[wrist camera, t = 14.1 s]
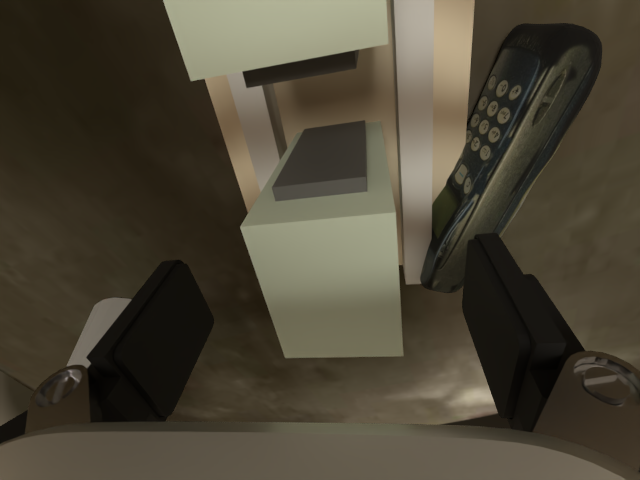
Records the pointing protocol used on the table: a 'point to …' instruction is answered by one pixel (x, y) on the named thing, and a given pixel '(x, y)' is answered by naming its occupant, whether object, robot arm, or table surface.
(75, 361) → the lava lamp
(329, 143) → the pale green tall block
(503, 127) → the mobile phone
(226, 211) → the table surface
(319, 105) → the rail board
